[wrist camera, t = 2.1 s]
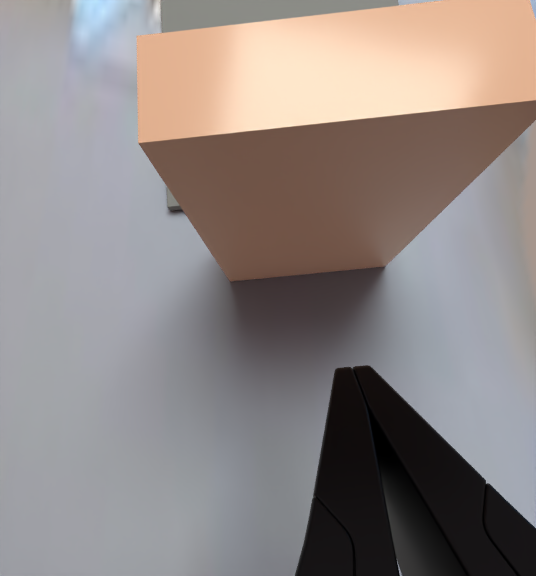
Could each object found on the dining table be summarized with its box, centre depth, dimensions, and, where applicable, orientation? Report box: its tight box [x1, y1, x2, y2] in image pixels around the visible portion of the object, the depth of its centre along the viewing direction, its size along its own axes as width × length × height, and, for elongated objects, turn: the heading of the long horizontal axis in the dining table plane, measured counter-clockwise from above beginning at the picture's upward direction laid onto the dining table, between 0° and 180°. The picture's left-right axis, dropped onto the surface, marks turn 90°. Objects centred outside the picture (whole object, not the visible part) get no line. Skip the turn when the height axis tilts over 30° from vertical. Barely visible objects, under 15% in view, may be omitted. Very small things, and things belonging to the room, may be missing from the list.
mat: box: [161, 0, 399, 211], centre depth 21 cm, size 16×14×1 cm
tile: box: [137, 0, 536, 282], centre depth 13 cm, size 3×8×12 cm, turn 95°
